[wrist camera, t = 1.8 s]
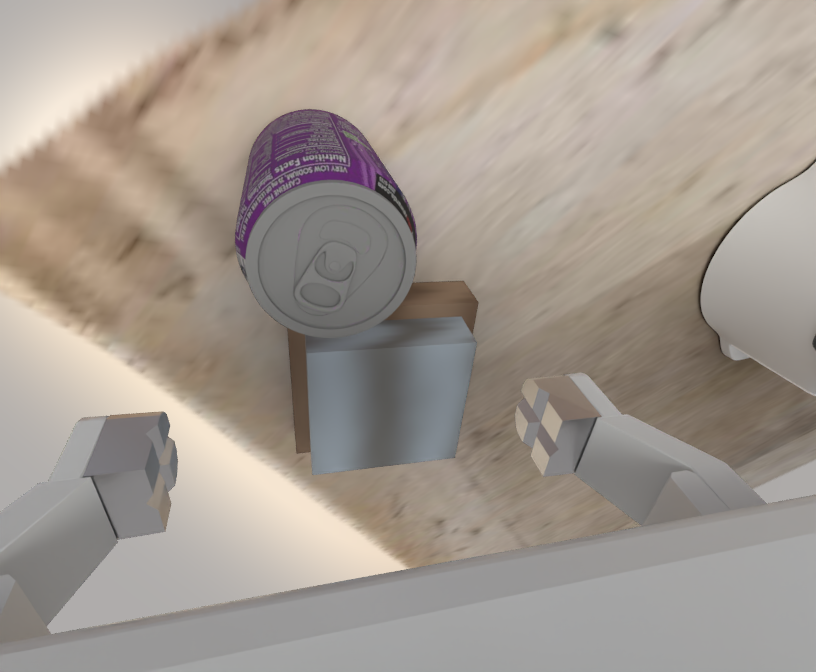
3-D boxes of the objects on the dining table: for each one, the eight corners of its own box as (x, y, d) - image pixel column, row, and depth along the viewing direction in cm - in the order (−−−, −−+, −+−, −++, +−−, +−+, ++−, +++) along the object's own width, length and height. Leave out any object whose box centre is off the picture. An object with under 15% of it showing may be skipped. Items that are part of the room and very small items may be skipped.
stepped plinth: (463, 280, 33) (495, 327, 28) (443, 410, 40) (465, 465, 35) (285, 287, 30) (287, 339, 25) (295, 424, 37) (297, 486, 32)
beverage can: (345, 252, 30) (377, 367, 20) (230, 206, 27) (204, 316, 17) (397, 145, 27) (463, 220, 17) (275, 80, 24) (273, 127, 14)
